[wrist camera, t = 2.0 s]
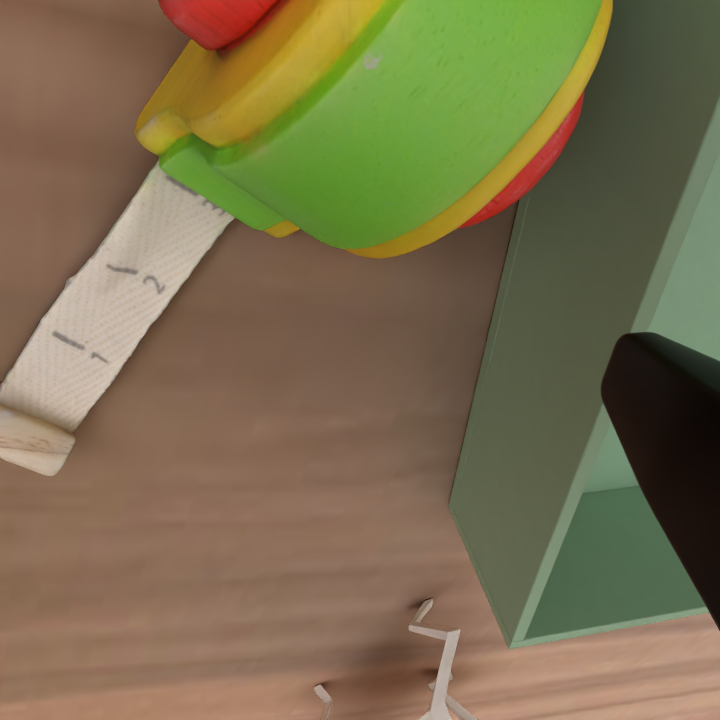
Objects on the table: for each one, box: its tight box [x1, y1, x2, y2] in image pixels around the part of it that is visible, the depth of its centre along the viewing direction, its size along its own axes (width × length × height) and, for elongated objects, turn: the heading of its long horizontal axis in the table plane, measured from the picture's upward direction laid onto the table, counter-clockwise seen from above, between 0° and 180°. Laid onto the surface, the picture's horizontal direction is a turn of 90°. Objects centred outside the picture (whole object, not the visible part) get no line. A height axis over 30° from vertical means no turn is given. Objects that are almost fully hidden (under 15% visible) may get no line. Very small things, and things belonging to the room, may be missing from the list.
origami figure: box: [314, 598, 478, 720], centre depth 28 cm, size 12×8×5 cm
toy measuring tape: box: [0, 0, 613, 477], centre depth 12 cm, size 6×19×7 cm, turn 137°
